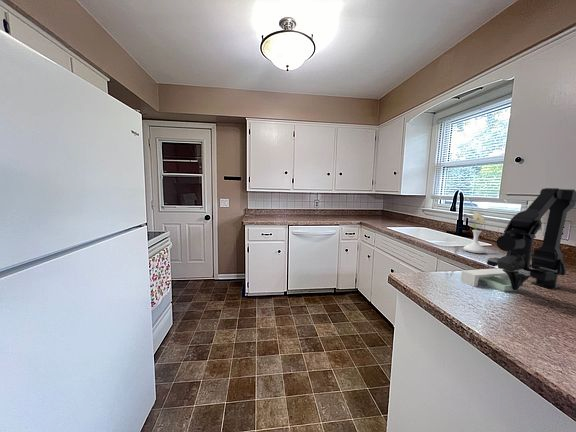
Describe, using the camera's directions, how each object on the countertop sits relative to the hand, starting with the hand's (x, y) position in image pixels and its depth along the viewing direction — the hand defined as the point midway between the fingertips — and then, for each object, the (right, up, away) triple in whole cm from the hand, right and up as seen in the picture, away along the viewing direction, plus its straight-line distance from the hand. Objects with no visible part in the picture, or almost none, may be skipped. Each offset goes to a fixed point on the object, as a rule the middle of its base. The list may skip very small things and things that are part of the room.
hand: (515, 290), depth 93 cm
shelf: (-3, 0, +10) cm, 10 cm away
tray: (-2, 0, +6) cm, 7 cm away
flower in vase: (+32, +5, +64) cm, 71 cm away
